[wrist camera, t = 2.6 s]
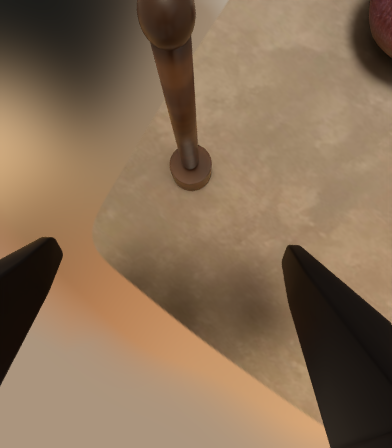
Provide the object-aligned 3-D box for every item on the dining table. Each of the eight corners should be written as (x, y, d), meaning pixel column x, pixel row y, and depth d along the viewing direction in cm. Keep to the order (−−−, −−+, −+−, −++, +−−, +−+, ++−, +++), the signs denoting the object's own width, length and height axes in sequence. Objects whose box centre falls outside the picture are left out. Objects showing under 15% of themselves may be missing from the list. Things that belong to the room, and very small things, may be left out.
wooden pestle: (191, 198, 23) (156, 63, 6) (165, 172, 23) (69, -21, 7) (218, 172, 23) (255, -24, 6) (192, 147, 23) (165, -100, 7)
